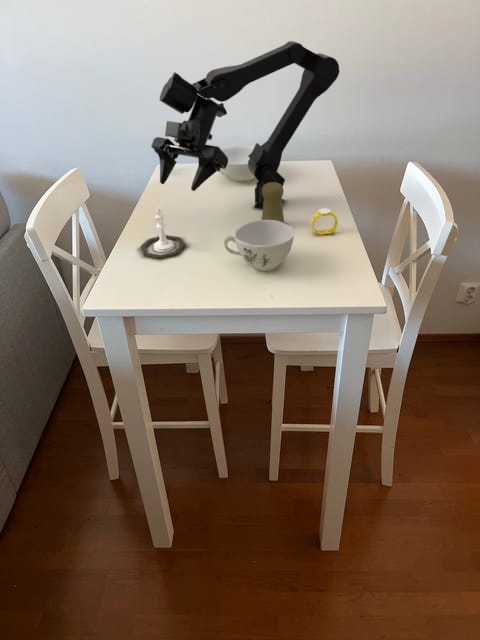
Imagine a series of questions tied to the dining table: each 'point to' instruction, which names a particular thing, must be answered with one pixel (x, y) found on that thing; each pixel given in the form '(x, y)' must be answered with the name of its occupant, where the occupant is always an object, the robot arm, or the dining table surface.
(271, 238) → the teacup
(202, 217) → the dining table surface
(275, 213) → the cork
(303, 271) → the dining table surface
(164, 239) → the chess piece
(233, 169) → the cereal bowl
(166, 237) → the spot ring
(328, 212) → the watch
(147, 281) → the dining table surface
